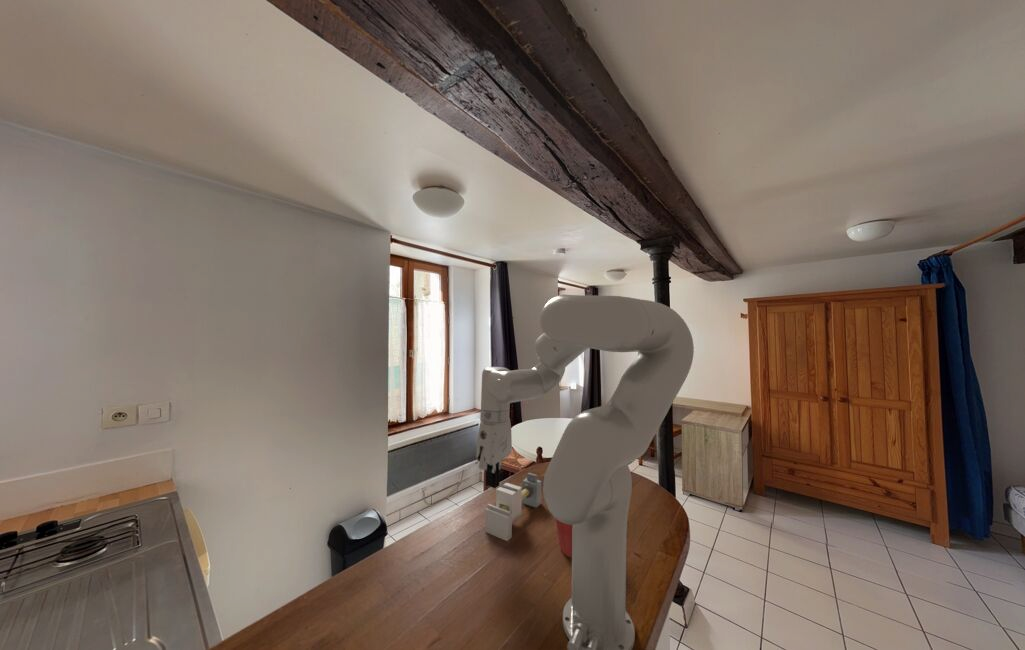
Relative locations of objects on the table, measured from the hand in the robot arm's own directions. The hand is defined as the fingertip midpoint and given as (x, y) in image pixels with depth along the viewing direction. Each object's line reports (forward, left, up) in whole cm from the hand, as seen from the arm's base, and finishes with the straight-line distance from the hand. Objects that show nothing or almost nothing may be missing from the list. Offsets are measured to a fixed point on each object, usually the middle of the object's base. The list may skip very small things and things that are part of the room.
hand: (492, 485), depth 82 cm
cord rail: (+12, -1, -14) cm, 18 cm away
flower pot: (+8, -20, -14) cm, 25 cm away
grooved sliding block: (+7, -1, -11) cm, 13 cm away
